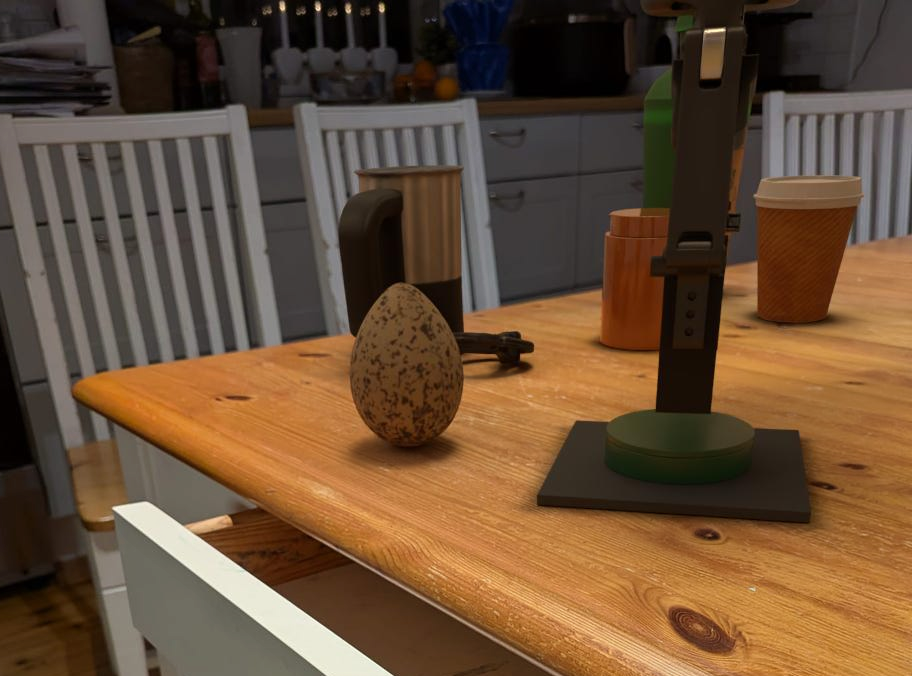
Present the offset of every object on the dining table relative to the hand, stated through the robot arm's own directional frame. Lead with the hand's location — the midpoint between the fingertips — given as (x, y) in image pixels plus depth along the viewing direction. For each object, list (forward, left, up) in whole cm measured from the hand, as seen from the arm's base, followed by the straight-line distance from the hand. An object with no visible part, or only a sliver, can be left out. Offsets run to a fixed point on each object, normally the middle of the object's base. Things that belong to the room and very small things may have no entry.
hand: (689, 377), depth 54 cm
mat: (0, +1, -5) cm, 5 cm away
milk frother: (+21, -25, -5) cm, 34 cm away
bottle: (+3, -57, -5) cm, 58 cm away
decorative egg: (+17, -1, -5) cm, 18 cm away
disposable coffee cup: (-8, -45, -5) cm, 46 cm away
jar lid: (0, +1, -3) cm, 3 cm away
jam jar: (+5, -33, -5) cm, 34 cm away
